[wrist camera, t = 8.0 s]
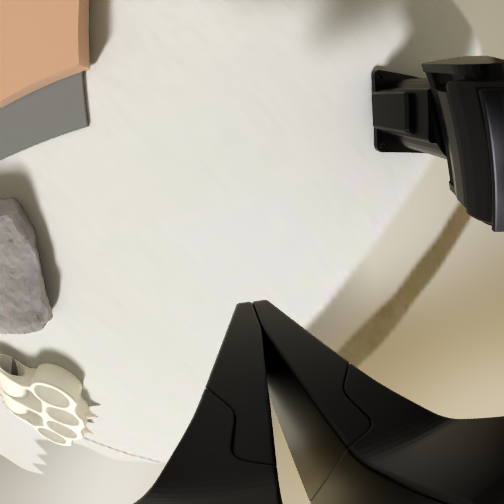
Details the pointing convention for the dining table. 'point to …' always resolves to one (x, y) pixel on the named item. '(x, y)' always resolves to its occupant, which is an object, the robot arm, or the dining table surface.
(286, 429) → the robot arm
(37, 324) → the stone block
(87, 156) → the dining table surface
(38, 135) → the mat
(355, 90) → the dining table surface
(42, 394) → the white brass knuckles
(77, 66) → the tan flat block
